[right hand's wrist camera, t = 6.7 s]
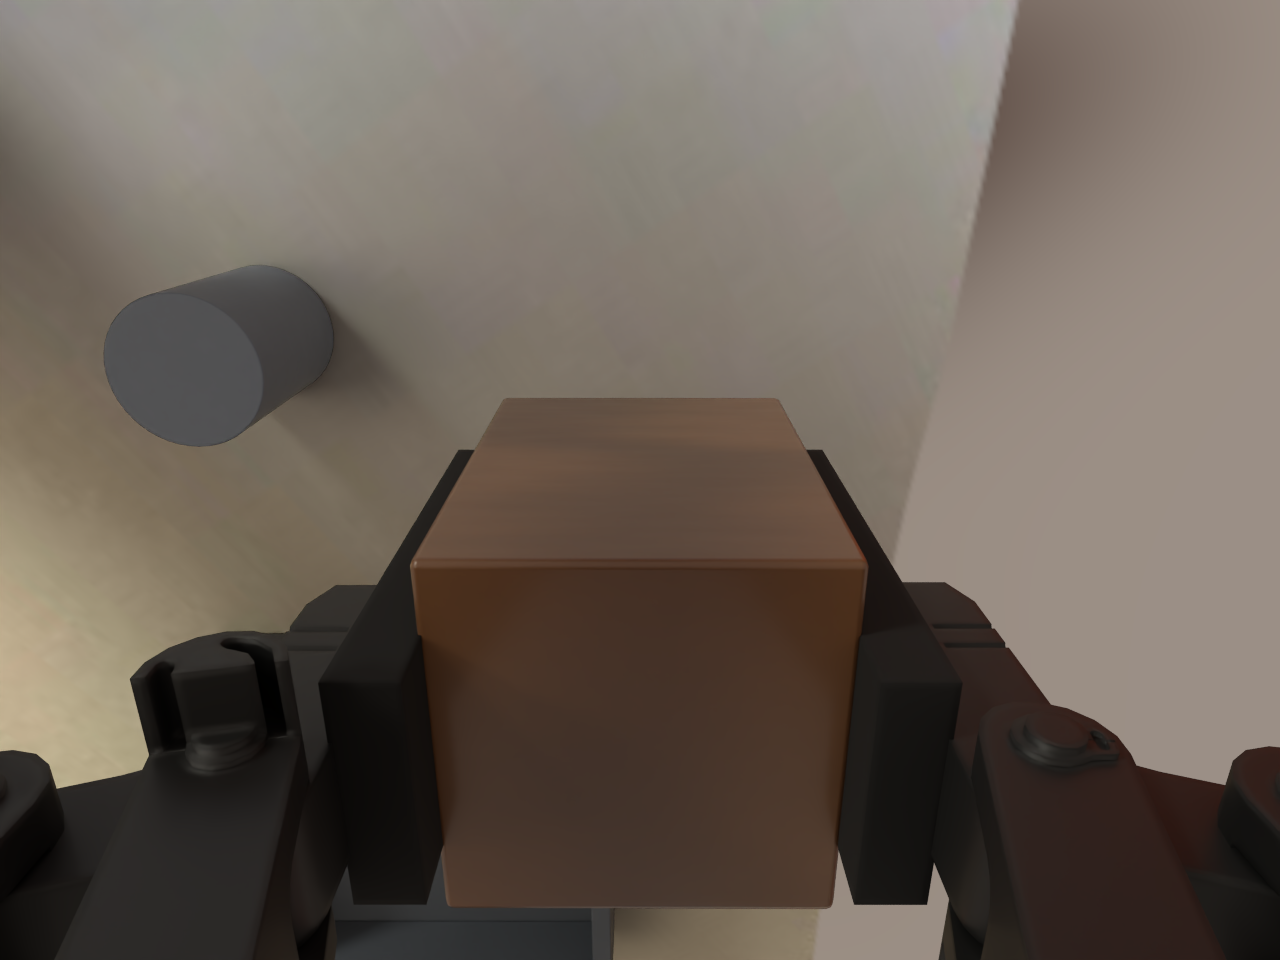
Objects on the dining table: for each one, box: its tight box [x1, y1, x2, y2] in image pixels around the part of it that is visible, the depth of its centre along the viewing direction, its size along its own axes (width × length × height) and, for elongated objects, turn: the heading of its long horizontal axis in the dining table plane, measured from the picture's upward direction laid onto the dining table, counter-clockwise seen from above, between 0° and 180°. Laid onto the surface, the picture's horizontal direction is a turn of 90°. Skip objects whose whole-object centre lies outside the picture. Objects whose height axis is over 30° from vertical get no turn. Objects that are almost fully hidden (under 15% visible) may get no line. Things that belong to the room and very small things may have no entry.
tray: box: [267, 634, 614, 960], centre depth 37 cm, size 25×16×5 cm, turn 0°
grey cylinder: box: [104, 265, 334, 447], centre depth 27 cm, size 4×4×6 cm
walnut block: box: [410, 398, 869, 909], centre depth 12 cm, size 4×4×6 cm
